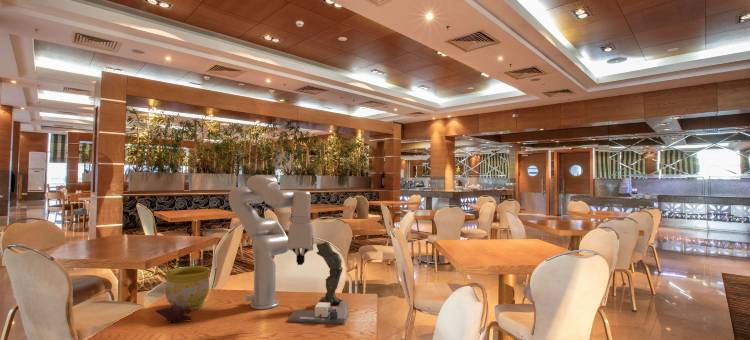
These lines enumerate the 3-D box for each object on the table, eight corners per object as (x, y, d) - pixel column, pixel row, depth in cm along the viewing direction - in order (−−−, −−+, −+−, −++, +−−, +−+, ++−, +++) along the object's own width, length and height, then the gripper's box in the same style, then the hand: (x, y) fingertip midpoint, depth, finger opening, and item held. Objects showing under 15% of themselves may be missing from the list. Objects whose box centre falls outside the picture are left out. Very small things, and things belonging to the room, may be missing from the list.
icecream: (149, 308, 152) (185, 313, 151) (161, 298, 159) (196, 302, 158) (150, 324, 154) (186, 328, 153) (161, 313, 161) (196, 317, 160)
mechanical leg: (351, 300, 182) (337, 237, 184) (349, 304, 175) (334, 240, 177) (323, 305, 184) (309, 244, 185) (320, 310, 177) (305, 246, 178)
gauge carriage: (313, 318, 155) (313, 308, 155) (318, 311, 163) (318, 302, 163) (333, 319, 155) (333, 309, 155) (337, 312, 162) (337, 302, 162)
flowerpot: (216, 301, 182) (216, 266, 182) (197, 314, 164) (198, 275, 164) (178, 300, 182) (179, 265, 183) (155, 313, 164) (156, 275, 165)
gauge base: (288, 321, 156) (288, 305, 156) (295, 313, 166) (295, 298, 166) (344, 324, 154) (344, 307, 154) (348, 315, 164) (348, 300, 164)
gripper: (280, 220, 159) (280, 265, 159) (316, 221, 158) (315, 267, 157) (286, 219, 167) (286, 261, 166) (320, 219, 165) (320, 263, 165)
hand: (300, 264), depth 162 cm, fingers closed
